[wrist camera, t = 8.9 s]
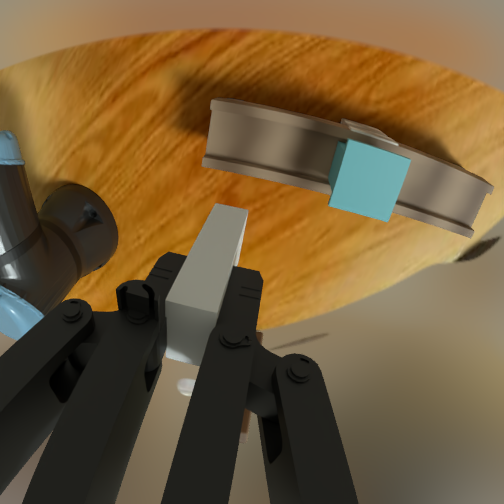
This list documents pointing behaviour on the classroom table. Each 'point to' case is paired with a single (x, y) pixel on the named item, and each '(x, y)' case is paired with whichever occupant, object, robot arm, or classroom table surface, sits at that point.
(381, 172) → the rider
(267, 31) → the classroom table surface
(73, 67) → the classroom table surface
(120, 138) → the classroom table surface
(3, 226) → the robot arm
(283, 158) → the wooden bench
